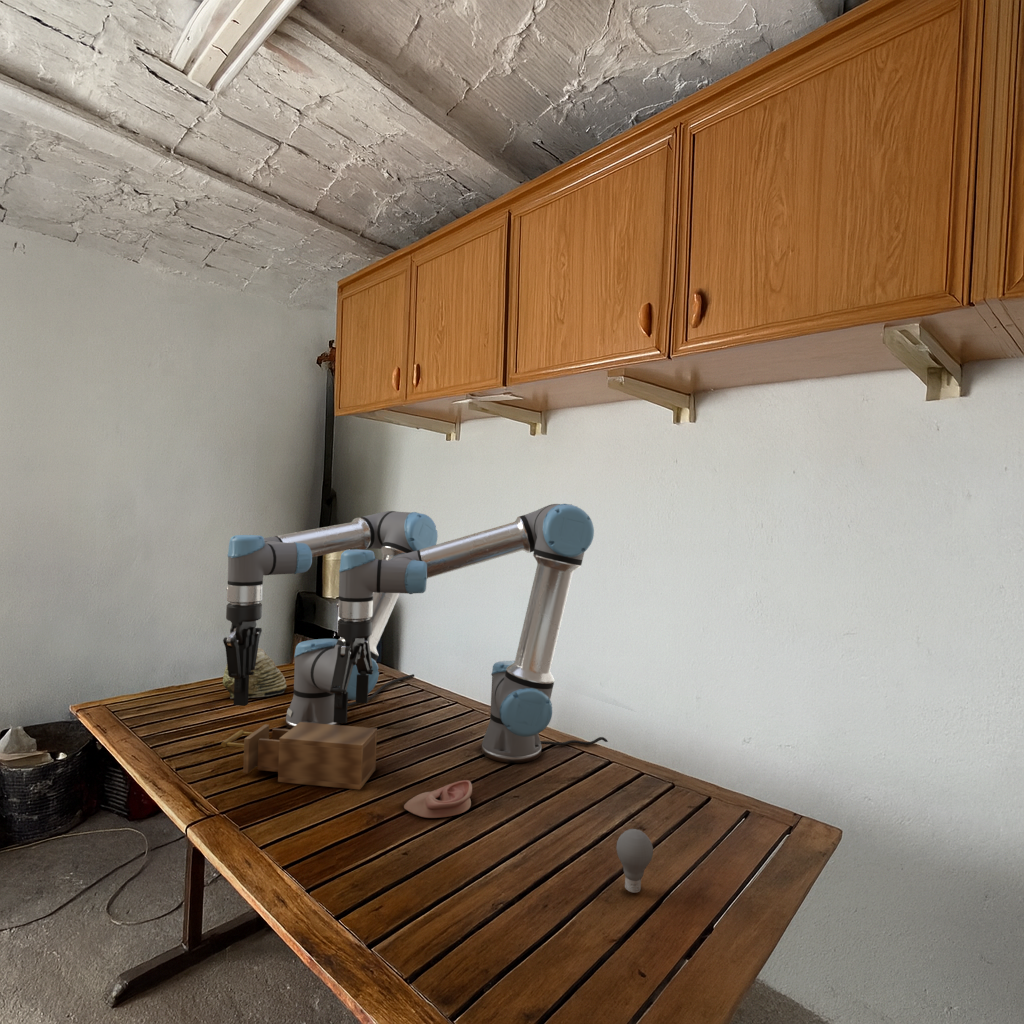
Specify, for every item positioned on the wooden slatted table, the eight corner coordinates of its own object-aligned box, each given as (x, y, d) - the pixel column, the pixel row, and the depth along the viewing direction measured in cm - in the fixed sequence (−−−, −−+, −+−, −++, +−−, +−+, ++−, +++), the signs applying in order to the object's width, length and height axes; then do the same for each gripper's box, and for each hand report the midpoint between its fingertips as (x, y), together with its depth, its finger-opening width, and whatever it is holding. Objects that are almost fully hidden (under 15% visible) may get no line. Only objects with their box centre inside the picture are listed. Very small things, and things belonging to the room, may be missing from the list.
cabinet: (277, 782, 140) (279, 738, 139) (298, 762, 150) (300, 721, 150) (360, 789, 138) (361, 745, 137) (375, 769, 148) (377, 728, 148)
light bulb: (610, 879, 108) (613, 822, 108) (644, 879, 109) (647, 822, 109) (619, 902, 102) (622, 840, 102) (655, 901, 103) (658, 840, 103)
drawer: (218, 770, 142) (219, 736, 142) (240, 754, 151) (241, 722, 151) (317, 779, 139) (319, 745, 139) (334, 762, 148) (335, 730, 148)
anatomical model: (398, 794, 127) (418, 771, 139) (398, 814, 128) (417, 789, 139) (462, 803, 125) (477, 779, 136) (461, 823, 125) (476, 797, 136)
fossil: (218, 695, 195) (220, 647, 195) (278, 685, 208) (279, 640, 207) (228, 703, 189) (230, 653, 188) (289, 692, 201) (290, 645, 201)
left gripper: (243, 597, 152) (240, 694, 153) (212, 606, 139) (209, 712, 140) (273, 599, 151) (270, 697, 152) (245, 608, 138) (241, 715, 139)
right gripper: (358, 608, 155) (354, 694, 156) (316, 628, 131) (312, 730, 131) (387, 610, 155) (384, 696, 155) (351, 630, 130) (347, 733, 130)
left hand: (240, 704), depth 146 cm, fingers closed
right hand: (351, 712), depth 143 cm, fingers open, 13 cm apart
